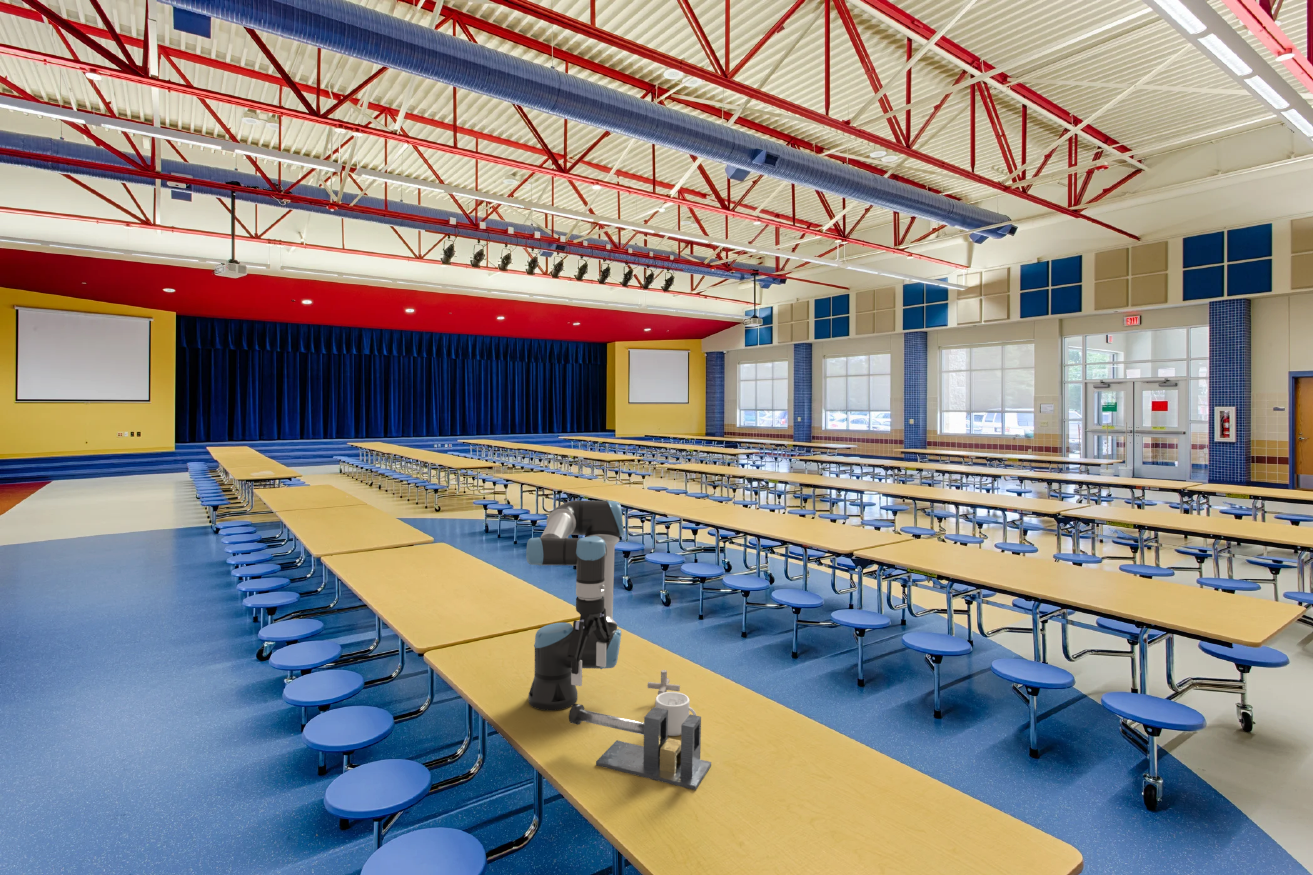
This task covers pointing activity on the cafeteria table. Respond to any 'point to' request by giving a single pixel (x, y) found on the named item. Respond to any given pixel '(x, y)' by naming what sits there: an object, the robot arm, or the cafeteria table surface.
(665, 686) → the pipe connector
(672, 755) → the spacer
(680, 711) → the mug
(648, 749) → the bearing block
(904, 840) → the cafeteria table surface
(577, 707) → the shaft
